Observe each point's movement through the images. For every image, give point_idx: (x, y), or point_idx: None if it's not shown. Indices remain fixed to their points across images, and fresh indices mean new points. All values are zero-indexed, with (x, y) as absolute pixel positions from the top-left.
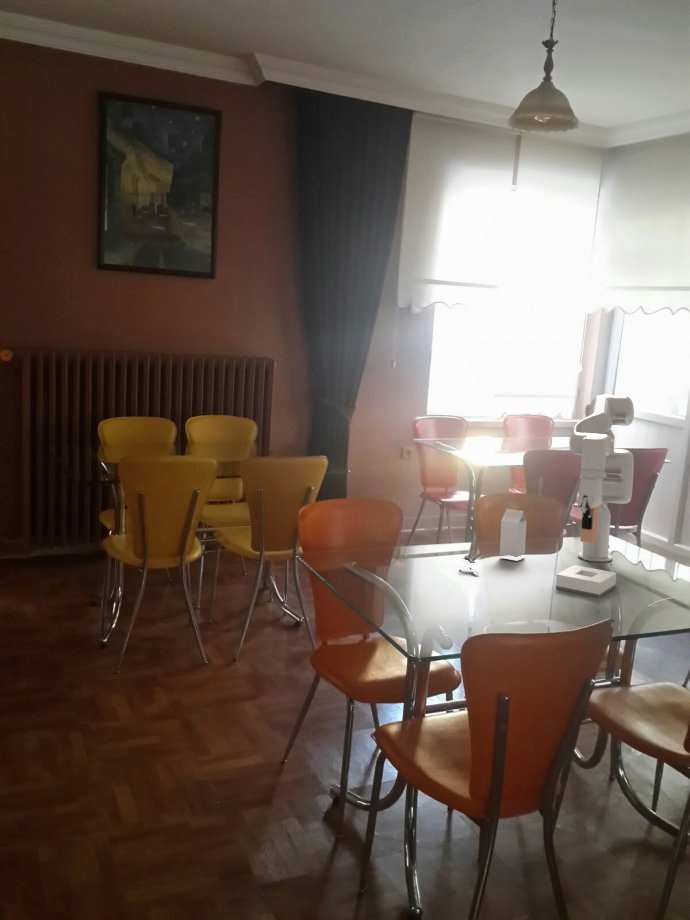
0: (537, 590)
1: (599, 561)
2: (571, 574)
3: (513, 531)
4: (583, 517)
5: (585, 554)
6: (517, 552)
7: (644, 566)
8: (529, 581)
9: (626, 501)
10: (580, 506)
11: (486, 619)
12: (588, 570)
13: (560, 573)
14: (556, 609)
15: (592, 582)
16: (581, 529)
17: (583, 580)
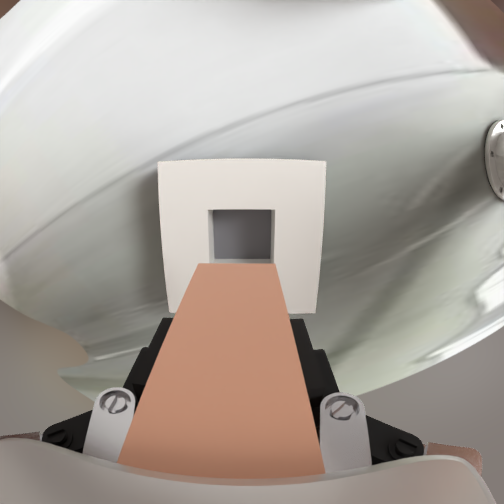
0: (122, 131)
1: (489, 179)
2: (191, 204)
3: None
4: (136, 388)
5: (500, 140)
6: None
7: (493, 276)
8: (191, 68)
9: None
10: (69, 460)
11: None
12: (285, 232)
13: (175, 167)
14: (40, 245)
15: (167, 288)
16: (182, 301)
17: (164, 260)
